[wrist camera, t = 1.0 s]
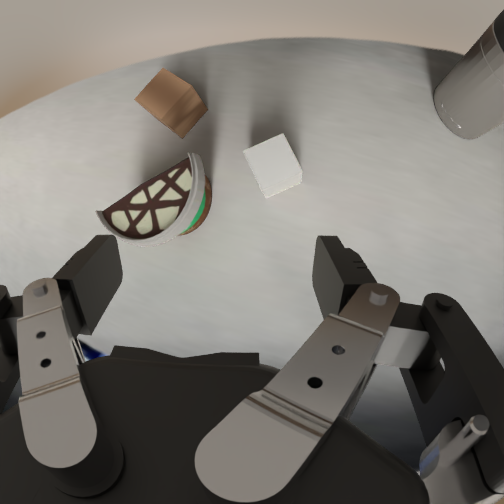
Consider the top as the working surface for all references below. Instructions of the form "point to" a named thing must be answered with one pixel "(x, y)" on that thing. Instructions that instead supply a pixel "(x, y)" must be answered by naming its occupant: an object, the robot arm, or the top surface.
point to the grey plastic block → (274, 165)
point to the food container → (162, 206)
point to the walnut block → (172, 102)
